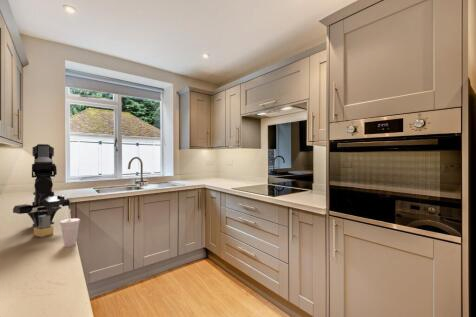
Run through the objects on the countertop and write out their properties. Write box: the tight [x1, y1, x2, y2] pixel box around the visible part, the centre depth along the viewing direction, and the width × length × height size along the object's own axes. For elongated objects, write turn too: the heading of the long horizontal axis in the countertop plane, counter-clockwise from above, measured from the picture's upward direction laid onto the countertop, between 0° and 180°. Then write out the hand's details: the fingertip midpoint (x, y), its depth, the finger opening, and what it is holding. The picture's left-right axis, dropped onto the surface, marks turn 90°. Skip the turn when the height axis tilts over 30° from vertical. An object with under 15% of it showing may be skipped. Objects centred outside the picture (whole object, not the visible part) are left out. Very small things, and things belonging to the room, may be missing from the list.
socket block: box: [33, 225, 54, 239], centre depth 100 cm, size 5×5×4 cm
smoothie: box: [59, 208, 81, 248], centre depth 89 cm, size 6×6×14 cm
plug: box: [37, 215, 51, 229], centre depth 100 cm, size 4×3×8 cm
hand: (43, 225), depth 100 cm, fingers open, 4 cm apart
